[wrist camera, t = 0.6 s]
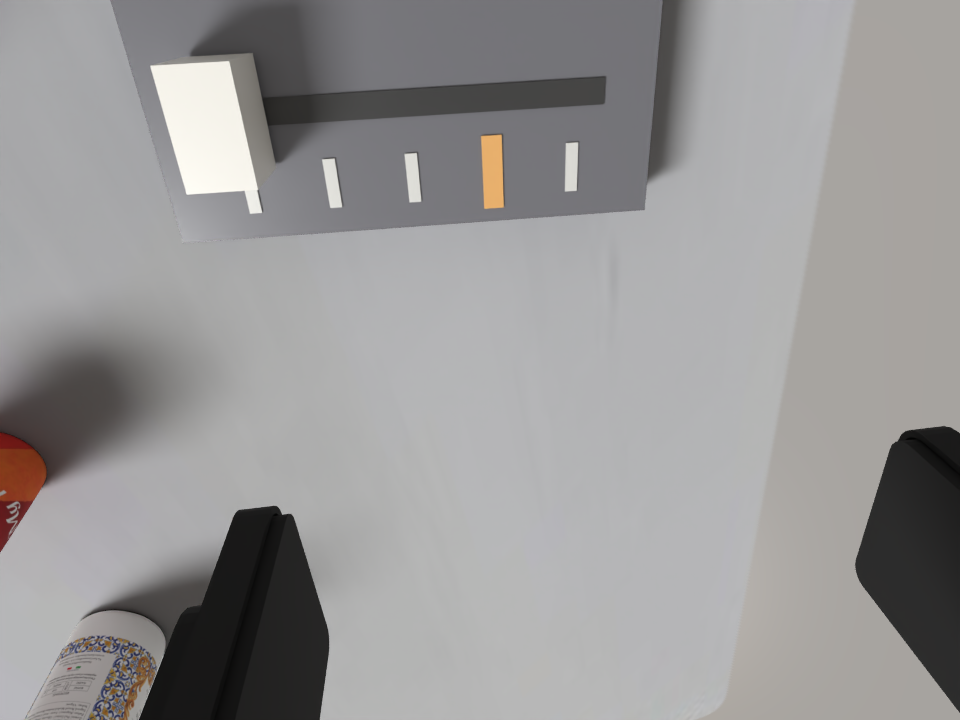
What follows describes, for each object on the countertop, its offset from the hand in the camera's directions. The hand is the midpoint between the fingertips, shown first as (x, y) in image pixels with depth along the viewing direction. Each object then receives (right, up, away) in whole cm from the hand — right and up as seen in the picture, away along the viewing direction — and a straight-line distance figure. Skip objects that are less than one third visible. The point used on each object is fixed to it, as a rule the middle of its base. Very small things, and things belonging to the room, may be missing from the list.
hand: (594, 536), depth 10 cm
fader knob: (-13, +14, +19) cm, 27 cm away
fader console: (-6, +16, +22) cm, 28 cm away
